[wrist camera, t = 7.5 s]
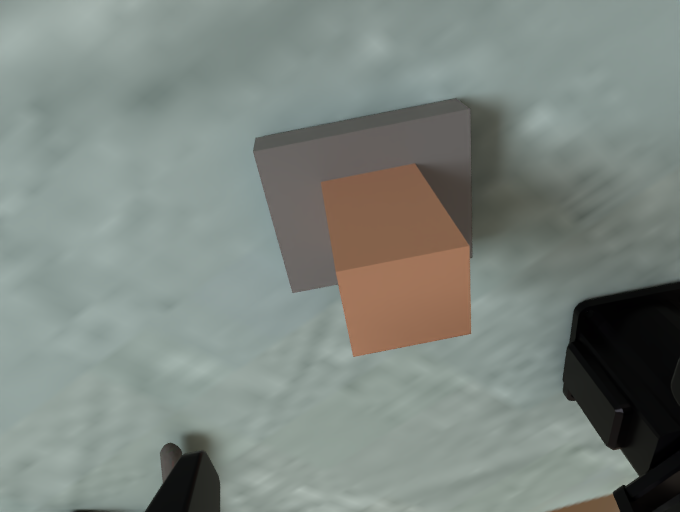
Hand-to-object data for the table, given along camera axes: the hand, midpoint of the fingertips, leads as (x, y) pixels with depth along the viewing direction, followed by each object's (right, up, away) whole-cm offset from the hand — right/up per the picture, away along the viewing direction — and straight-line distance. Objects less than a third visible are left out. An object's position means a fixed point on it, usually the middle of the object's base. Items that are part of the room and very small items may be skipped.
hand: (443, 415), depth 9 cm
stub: (-1, +5, +9) cm, 10 cm away
